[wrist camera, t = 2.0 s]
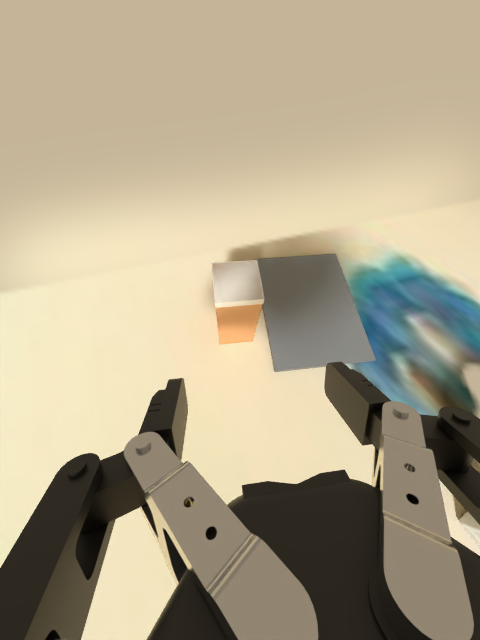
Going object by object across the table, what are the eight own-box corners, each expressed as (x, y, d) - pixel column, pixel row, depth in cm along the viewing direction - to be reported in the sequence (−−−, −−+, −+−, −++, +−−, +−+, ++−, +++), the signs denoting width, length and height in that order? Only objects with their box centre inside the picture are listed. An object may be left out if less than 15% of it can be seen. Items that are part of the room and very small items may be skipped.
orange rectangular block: (219, 344, 28) (214, 303, 19) (216, 314, 30) (211, 263, 21) (252, 341, 28) (264, 299, 19) (248, 311, 30) (257, 260, 21)
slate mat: (274, 372, 27) (275, 370, 26) (254, 261, 33) (254, 259, 33) (372, 361, 28) (375, 359, 27) (333, 256, 35) (335, 253, 34)
